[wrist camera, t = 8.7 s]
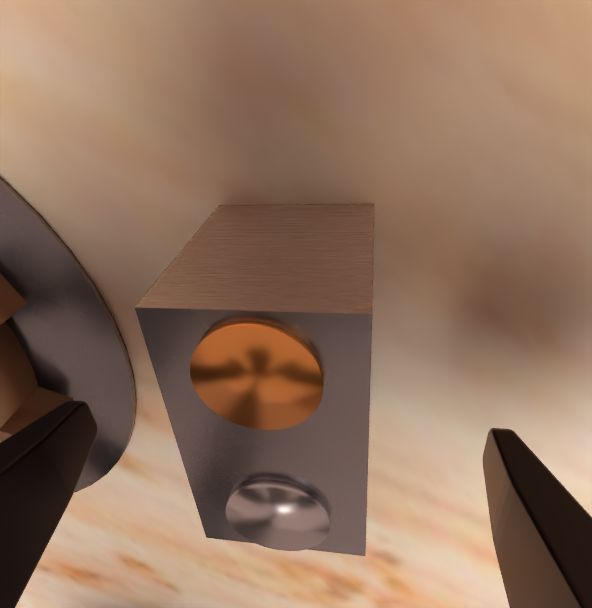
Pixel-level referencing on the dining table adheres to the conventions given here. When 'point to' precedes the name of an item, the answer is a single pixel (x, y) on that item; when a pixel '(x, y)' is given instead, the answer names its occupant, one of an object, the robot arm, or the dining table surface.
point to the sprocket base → (67, 330)
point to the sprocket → (18, 374)
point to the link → (271, 371)
